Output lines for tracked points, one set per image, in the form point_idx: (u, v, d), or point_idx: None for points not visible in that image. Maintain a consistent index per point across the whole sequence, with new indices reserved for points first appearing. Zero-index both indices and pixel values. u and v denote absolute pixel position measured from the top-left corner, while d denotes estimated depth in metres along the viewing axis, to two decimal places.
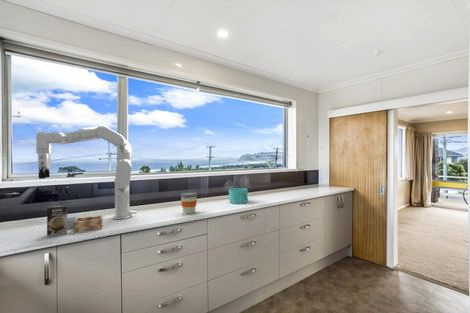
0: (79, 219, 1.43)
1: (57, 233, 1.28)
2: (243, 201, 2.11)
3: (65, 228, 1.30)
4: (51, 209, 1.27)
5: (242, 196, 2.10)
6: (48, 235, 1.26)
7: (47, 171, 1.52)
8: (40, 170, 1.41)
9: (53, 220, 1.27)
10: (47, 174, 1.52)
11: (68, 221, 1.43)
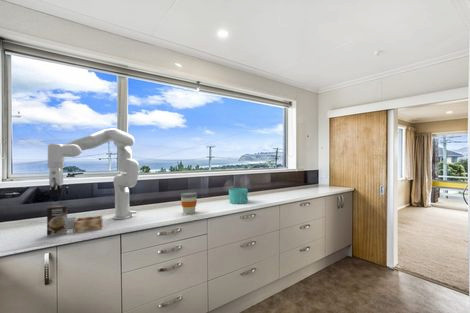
0: (79, 219, 1.43)
1: (57, 233, 1.28)
2: (243, 201, 2.11)
3: (65, 228, 1.30)
4: (51, 209, 1.27)
5: (242, 196, 2.10)
6: (48, 235, 1.26)
7: (59, 187, 1.34)
8: (52, 187, 1.24)
9: (53, 220, 1.27)
10: (58, 191, 1.34)
11: (68, 221, 1.43)
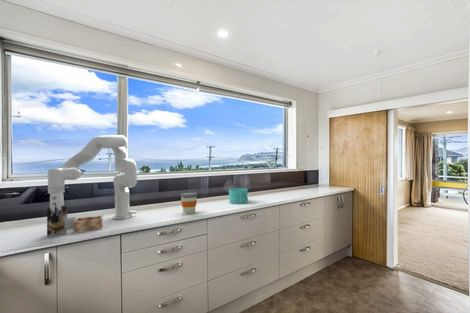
0: (79, 219, 1.43)
1: (57, 233, 1.28)
2: (243, 201, 2.11)
3: (65, 228, 1.30)
4: (51, 209, 1.26)
5: (242, 196, 2.10)
6: (48, 235, 1.26)
7: None
8: (53, 214, 1.25)
9: None
10: None
11: (68, 221, 1.43)
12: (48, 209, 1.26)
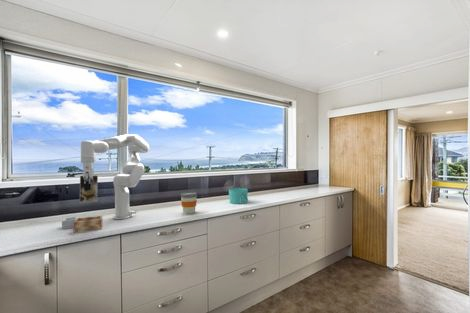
0: (79, 219, 1.43)
1: (89, 200, 1.39)
2: (243, 201, 2.11)
3: (96, 196, 1.41)
4: (84, 178, 1.38)
5: (242, 196, 2.10)
6: (81, 201, 1.37)
7: None
8: (86, 182, 1.36)
9: None
10: None
11: (68, 221, 1.43)
12: (81, 177, 1.37)
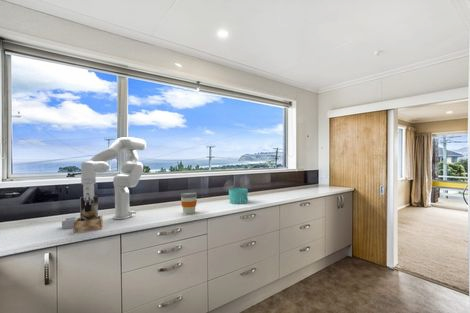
0: (79, 219, 1.43)
1: None
2: (243, 201, 2.11)
3: (96, 217, 1.41)
4: None
5: (242, 196, 2.10)
6: None
7: None
8: (86, 203, 1.36)
9: None
10: None
11: (68, 221, 1.43)
12: (82, 199, 1.37)
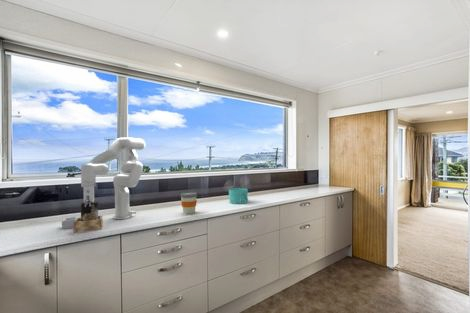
0: (79, 219, 1.43)
1: None
2: (243, 201, 2.11)
3: None
4: (84, 205, 1.38)
5: (242, 196, 2.10)
6: None
7: None
8: (86, 205, 1.35)
9: (86, 215, 1.38)
10: None
11: (68, 221, 1.43)
12: (82, 204, 1.37)
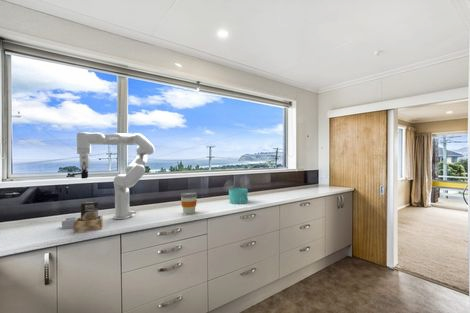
0: (79, 219, 1.43)
1: None
2: (243, 201, 2.11)
3: None
4: (84, 205, 1.38)
5: (242, 196, 2.10)
6: None
7: None
8: (83, 170, 1.43)
9: (86, 215, 1.38)
10: None
11: (68, 221, 1.43)
12: (82, 204, 1.37)
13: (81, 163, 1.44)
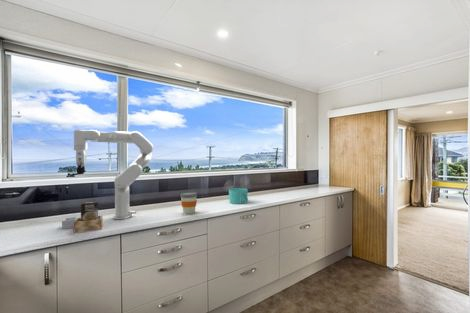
0: (79, 219, 1.43)
1: None
2: (243, 201, 2.11)
3: None
4: (84, 205, 1.38)
5: (242, 196, 2.10)
6: None
7: (82, 167, 1.59)
8: (78, 166, 1.49)
9: (86, 215, 1.38)
10: (82, 170, 1.59)
11: (68, 221, 1.43)
12: (82, 204, 1.37)
13: (77, 159, 1.50)
